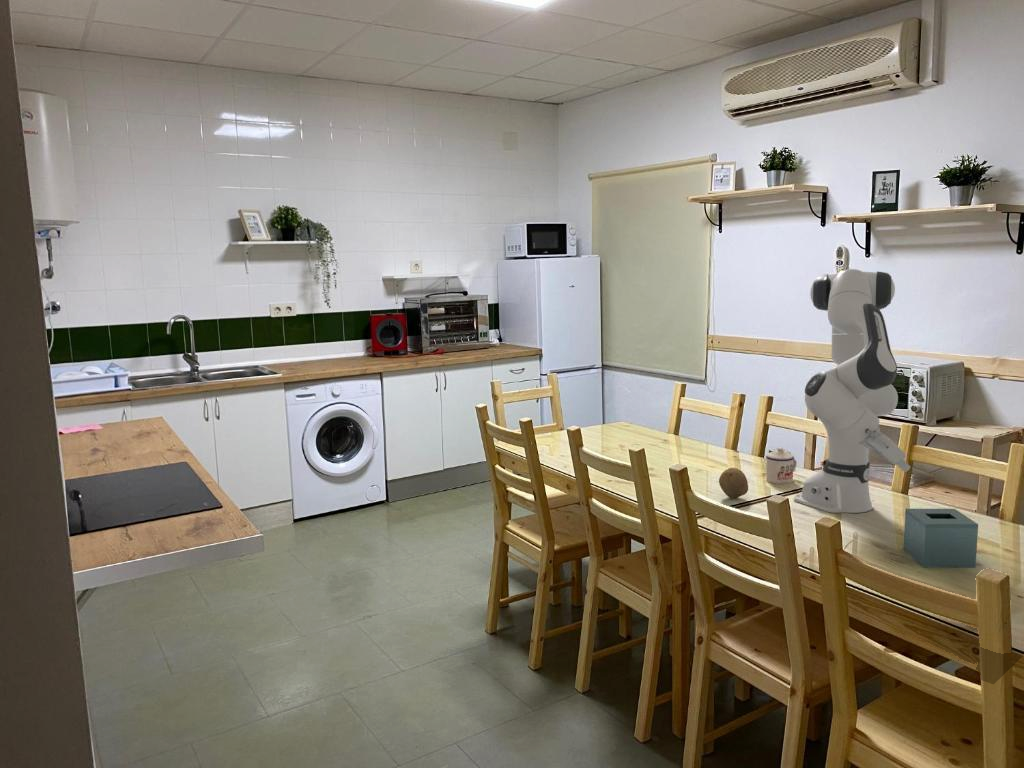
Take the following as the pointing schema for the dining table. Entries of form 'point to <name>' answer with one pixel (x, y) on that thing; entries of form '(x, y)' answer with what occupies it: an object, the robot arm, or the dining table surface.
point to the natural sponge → (733, 483)
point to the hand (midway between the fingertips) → (899, 464)
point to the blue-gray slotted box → (940, 538)
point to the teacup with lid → (780, 467)
